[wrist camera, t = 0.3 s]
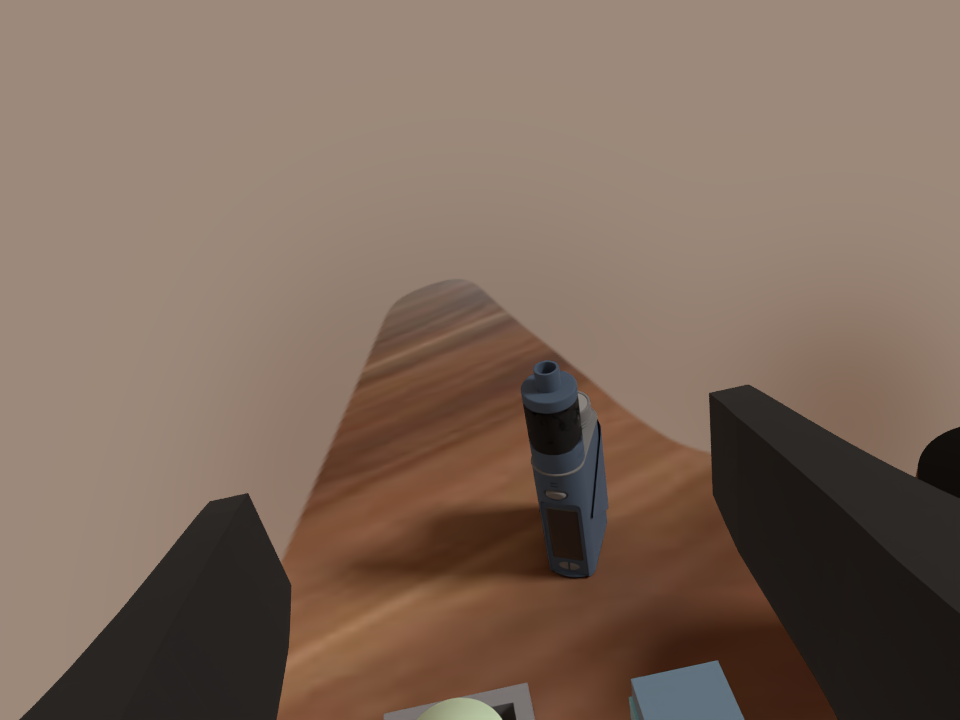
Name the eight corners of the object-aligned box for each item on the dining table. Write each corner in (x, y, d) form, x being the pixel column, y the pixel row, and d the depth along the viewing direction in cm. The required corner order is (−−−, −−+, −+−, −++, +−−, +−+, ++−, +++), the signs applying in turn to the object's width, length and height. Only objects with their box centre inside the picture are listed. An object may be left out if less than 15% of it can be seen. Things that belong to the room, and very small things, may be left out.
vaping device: (542, 578, 36) (507, 384, 29) (566, 501, 40) (539, 315, 33) (594, 587, 35) (569, 387, 28) (613, 507, 39) (596, 316, 32)
